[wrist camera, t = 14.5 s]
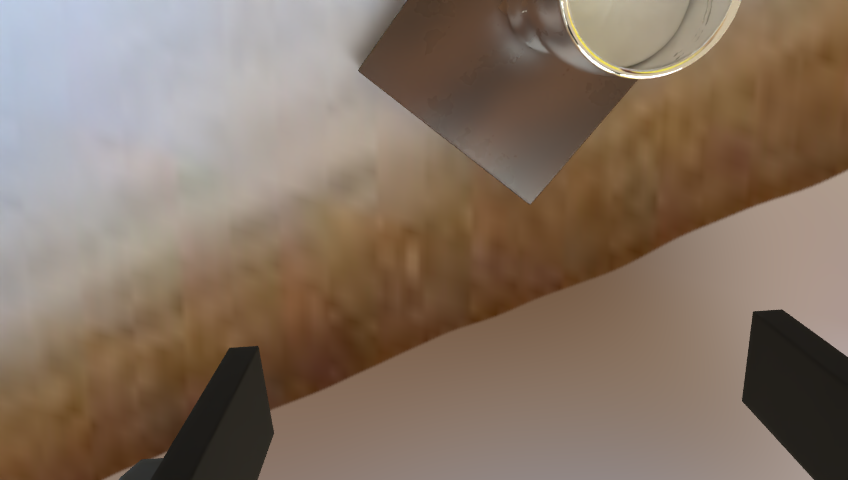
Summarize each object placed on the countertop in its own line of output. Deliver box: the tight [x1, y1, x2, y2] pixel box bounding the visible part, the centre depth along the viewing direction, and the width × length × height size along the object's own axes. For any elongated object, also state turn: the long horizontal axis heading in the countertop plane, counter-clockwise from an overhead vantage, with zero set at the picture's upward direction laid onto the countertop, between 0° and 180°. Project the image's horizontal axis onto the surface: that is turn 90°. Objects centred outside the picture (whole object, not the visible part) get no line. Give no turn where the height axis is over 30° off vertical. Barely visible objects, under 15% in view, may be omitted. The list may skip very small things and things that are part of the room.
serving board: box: [358, 0, 638, 204], centre depth 35 cm, size 14×21×2 cm, turn 142°
